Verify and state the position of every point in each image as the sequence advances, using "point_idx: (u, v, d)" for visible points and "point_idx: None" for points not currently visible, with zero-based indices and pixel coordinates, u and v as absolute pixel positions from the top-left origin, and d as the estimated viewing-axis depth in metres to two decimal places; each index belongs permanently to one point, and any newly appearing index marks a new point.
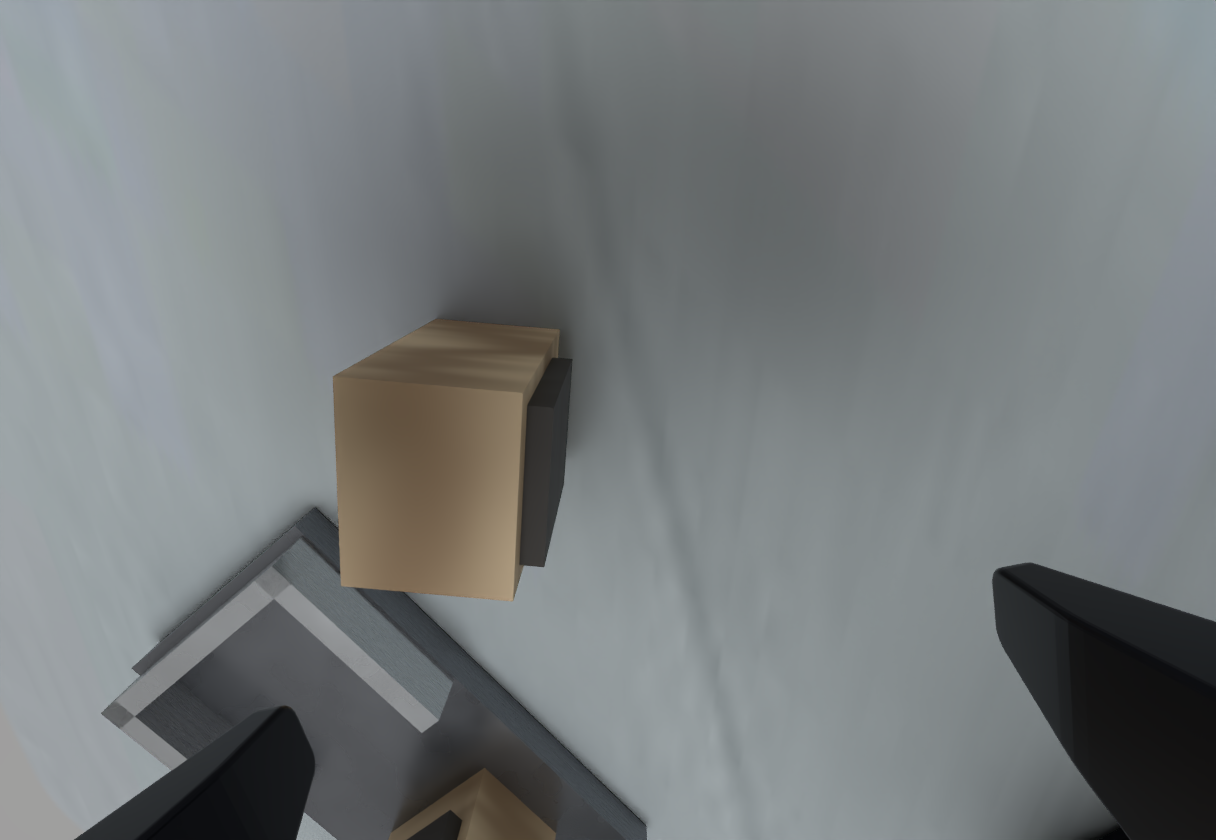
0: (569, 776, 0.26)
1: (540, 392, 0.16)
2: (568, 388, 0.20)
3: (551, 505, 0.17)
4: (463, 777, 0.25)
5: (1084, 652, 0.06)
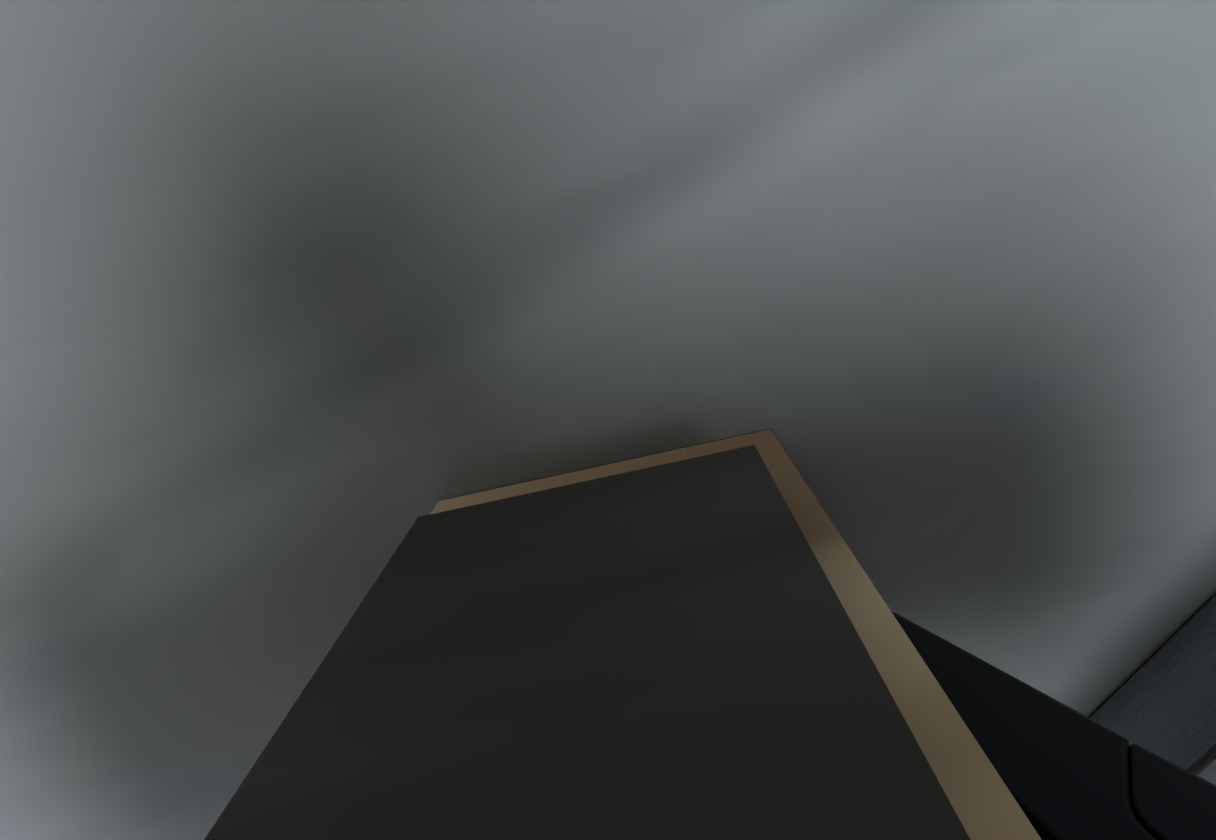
0: None
1: None
2: (456, 538, 0.07)
3: (682, 746, 0.04)
4: None
5: None
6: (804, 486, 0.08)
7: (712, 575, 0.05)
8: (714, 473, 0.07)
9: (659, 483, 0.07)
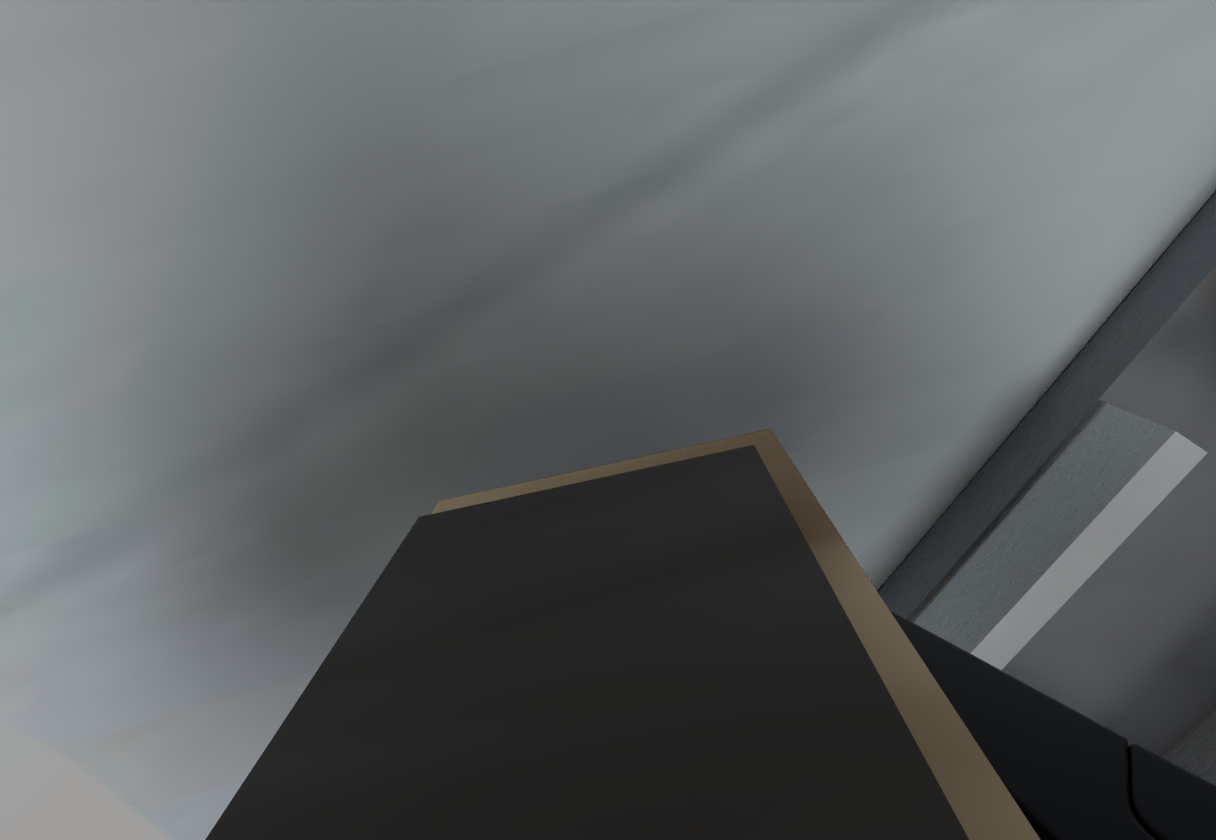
0: None
1: None
2: (457, 538, 0.07)
3: (682, 744, 0.04)
4: None
5: None
6: (803, 486, 0.08)
7: (712, 574, 0.05)
8: (714, 473, 0.07)
9: (659, 483, 0.07)
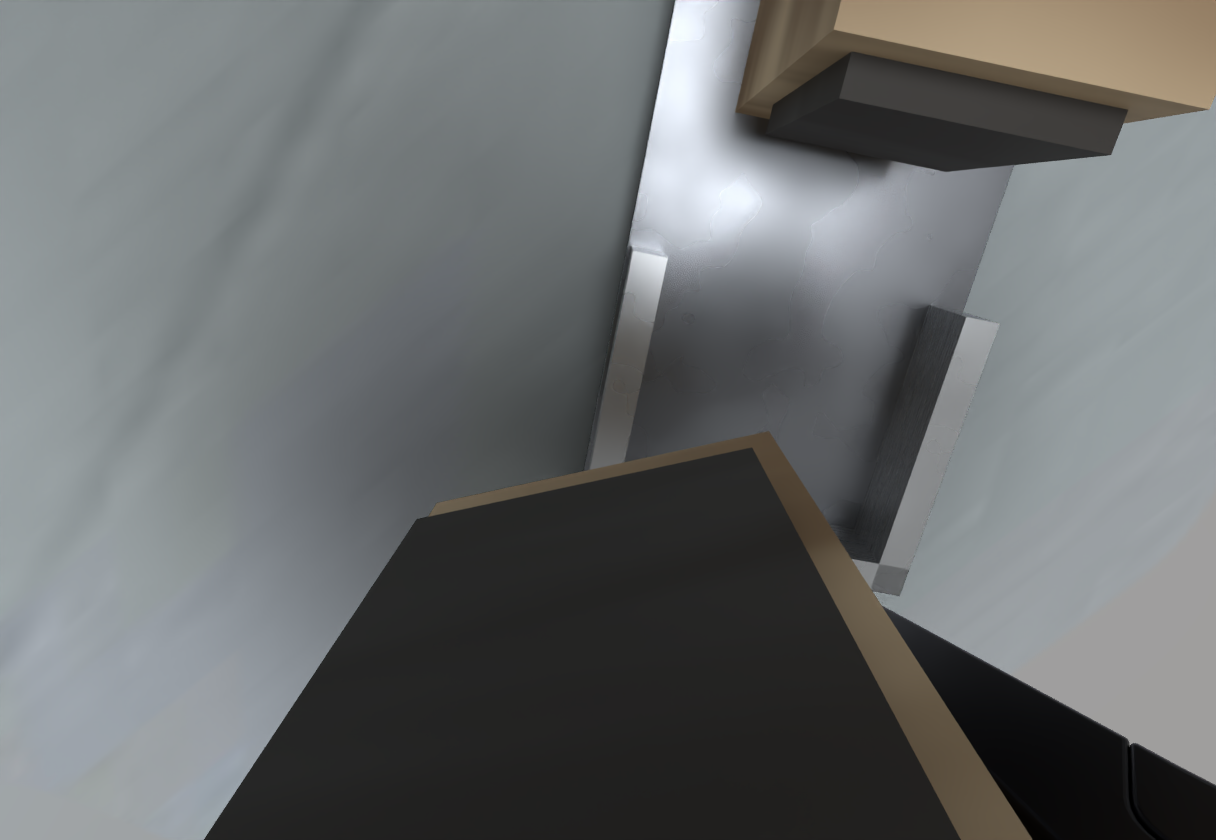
0: None
1: None
2: (454, 540, 0.07)
3: (678, 750, 0.04)
4: None
5: None
6: (802, 489, 0.08)
7: (709, 578, 0.05)
8: (712, 476, 0.07)
9: (657, 486, 0.07)
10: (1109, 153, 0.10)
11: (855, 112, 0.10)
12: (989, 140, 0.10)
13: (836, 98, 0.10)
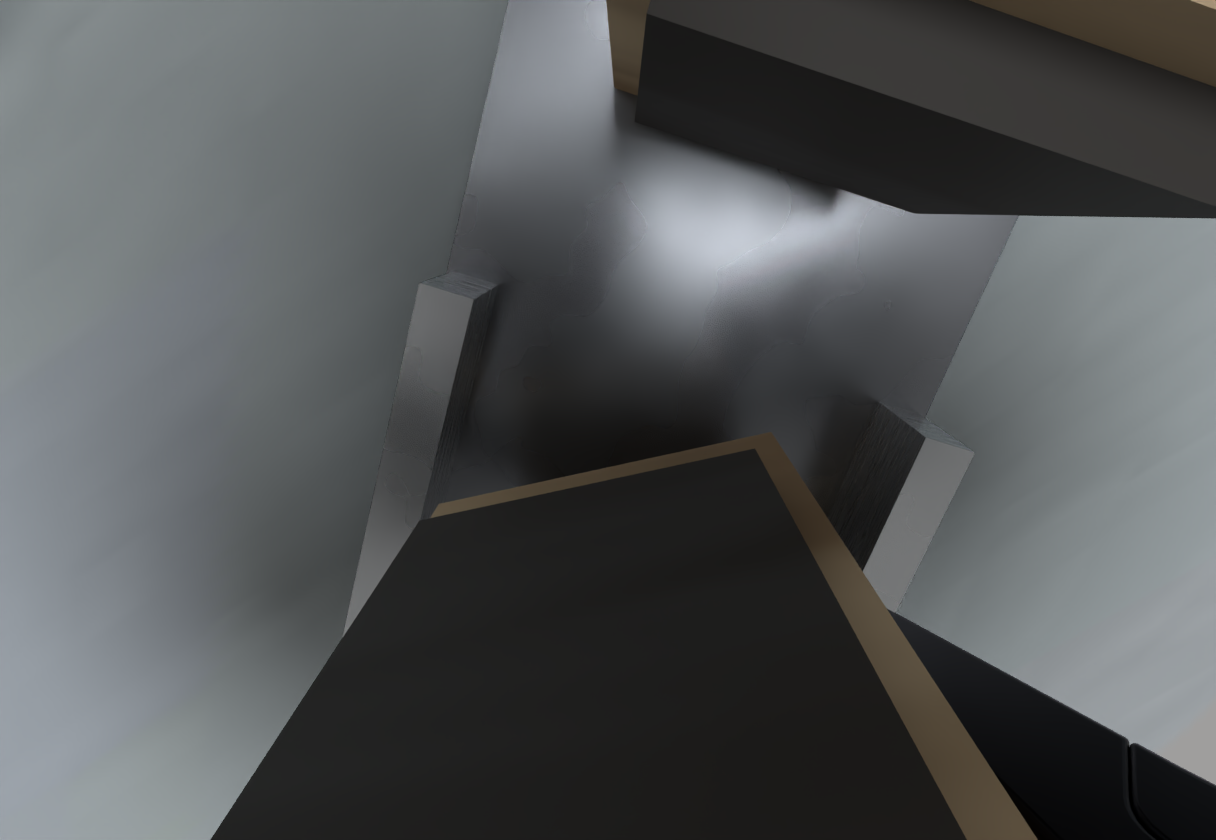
0: None
1: None
2: (457, 542, 0.07)
3: (684, 753, 0.04)
4: None
5: None
6: (805, 490, 0.08)
7: (713, 580, 0.05)
8: (715, 477, 0.07)
9: (660, 487, 0.07)
10: None
11: (710, 66, 0.05)
12: (986, 159, 0.05)
13: (646, 17, 0.04)
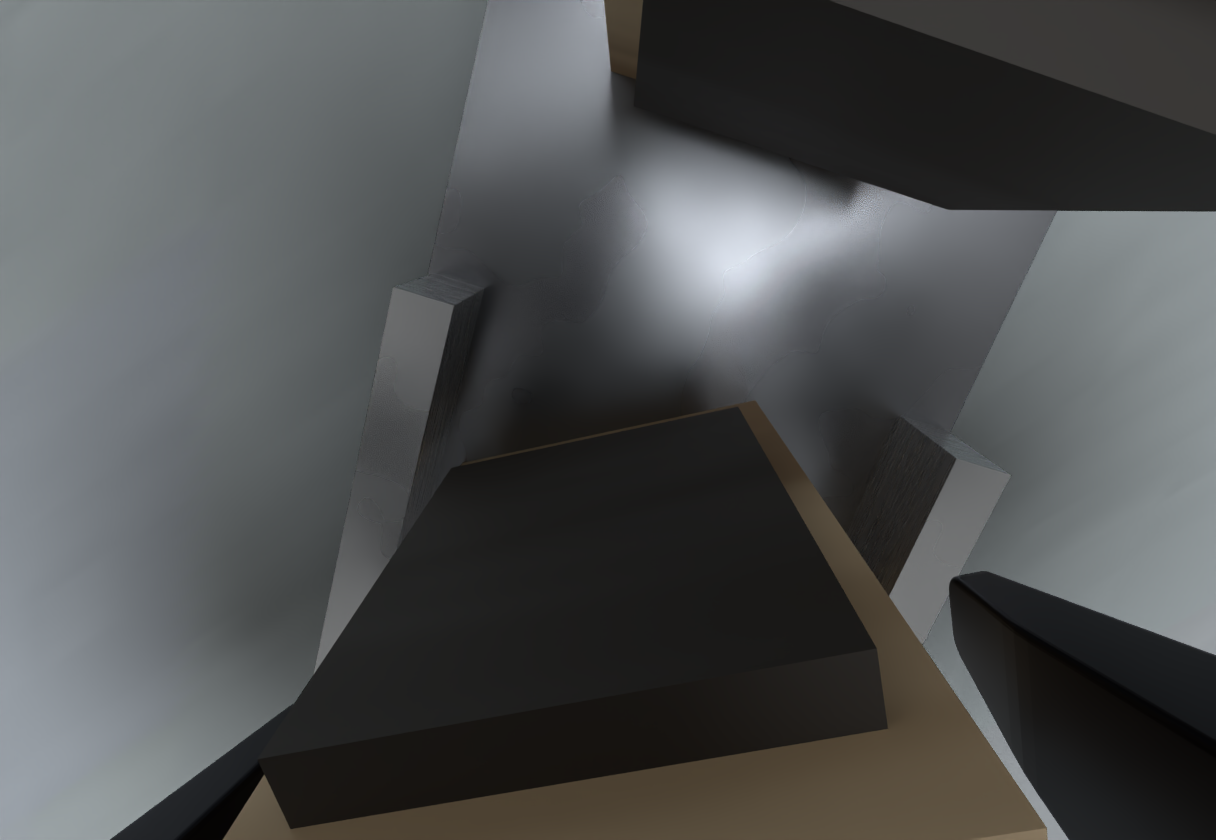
0: None
1: None
2: (486, 481, 0.09)
3: (673, 596, 0.05)
4: None
5: (1028, 662, 0.06)
6: (780, 442, 0.09)
7: (699, 496, 0.07)
8: (703, 428, 0.09)
9: (657, 436, 0.09)
10: None
11: (728, 20, 0.04)
12: (1074, 139, 0.04)
13: None
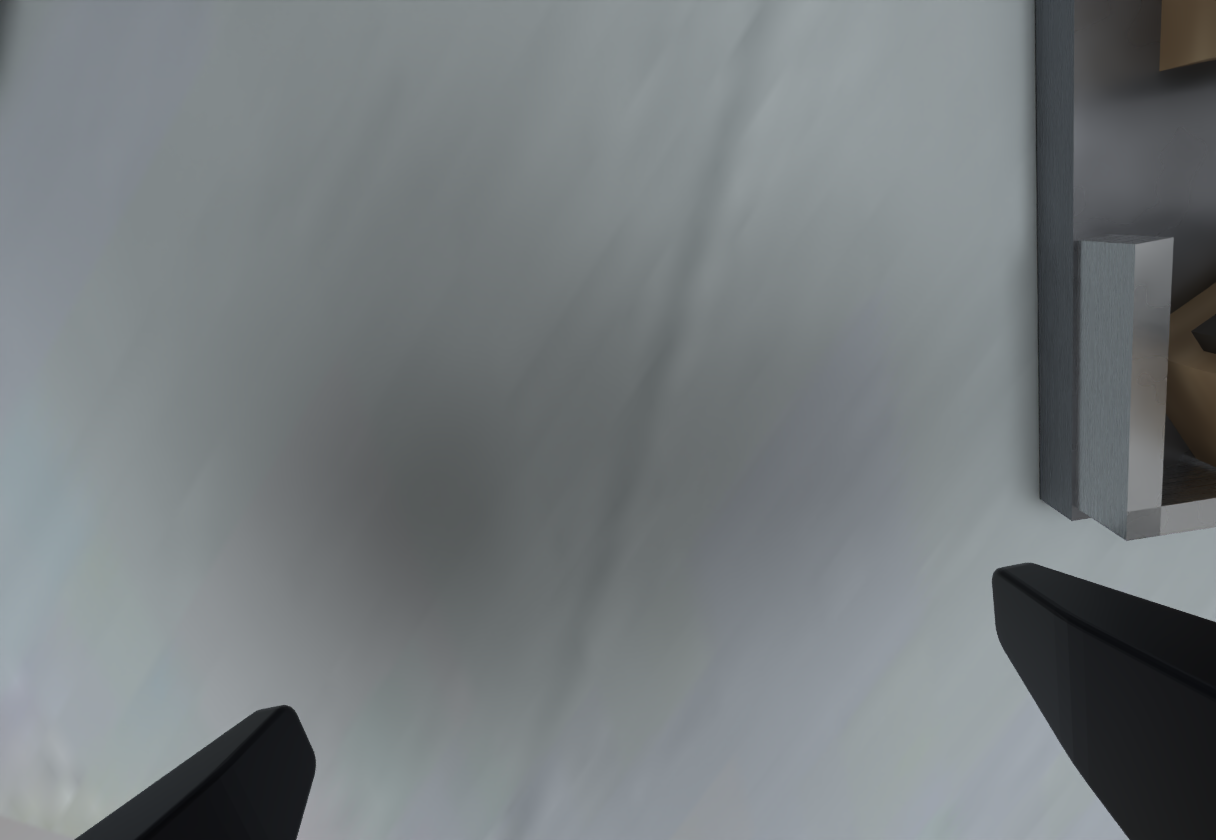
0: None
1: None
2: None
3: None
4: (1202, 69, 0.16)
5: (1084, 652, 0.06)
6: None
7: None
8: None
9: None
10: None
11: None
12: None
13: None
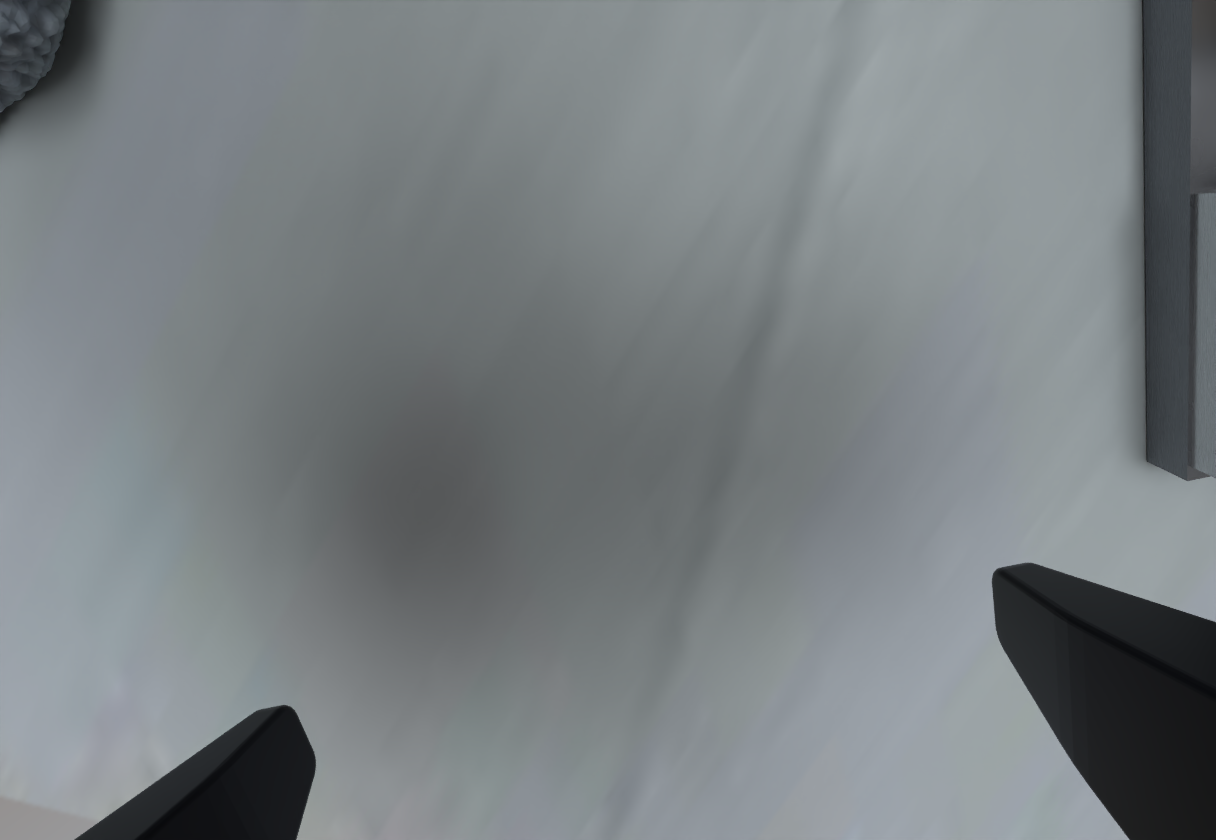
0: None
1: None
2: None
3: None
4: None
5: (1084, 652, 0.06)
6: None
7: None
8: None
9: None
10: None
11: None
12: None
13: None
